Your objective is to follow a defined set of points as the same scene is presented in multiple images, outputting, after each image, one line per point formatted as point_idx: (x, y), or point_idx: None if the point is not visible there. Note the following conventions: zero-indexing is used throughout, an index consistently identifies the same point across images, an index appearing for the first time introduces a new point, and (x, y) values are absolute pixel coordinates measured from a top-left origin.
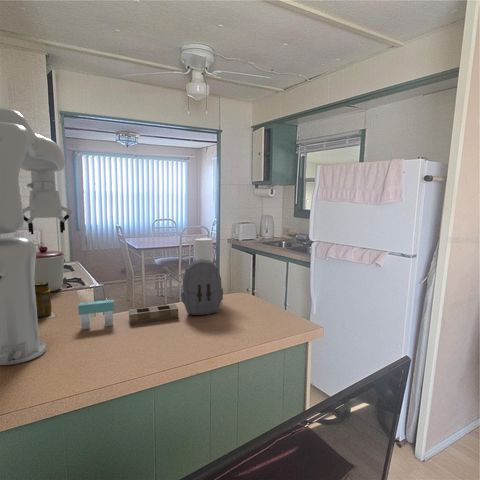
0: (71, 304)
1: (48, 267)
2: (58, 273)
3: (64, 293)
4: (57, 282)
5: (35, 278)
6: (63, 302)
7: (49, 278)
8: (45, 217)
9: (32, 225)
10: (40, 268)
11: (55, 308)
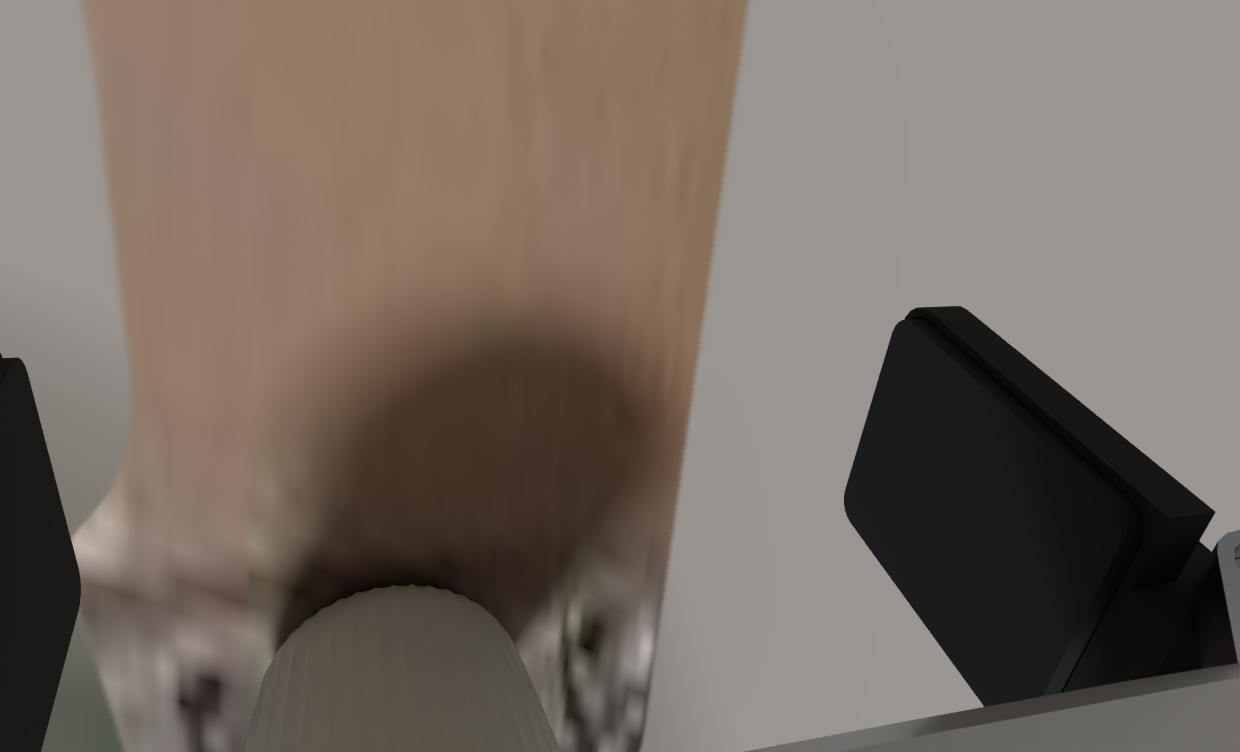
0: (177, 66)
1: (380, 747)
2: (284, 726)
3: (247, 507)
4: (300, 655)
5: (487, 669)
6: (259, 197)
7: (370, 662)
8: (846, 741)
9: (1088, 476)
10: (455, 734)
11: (341, 11)
